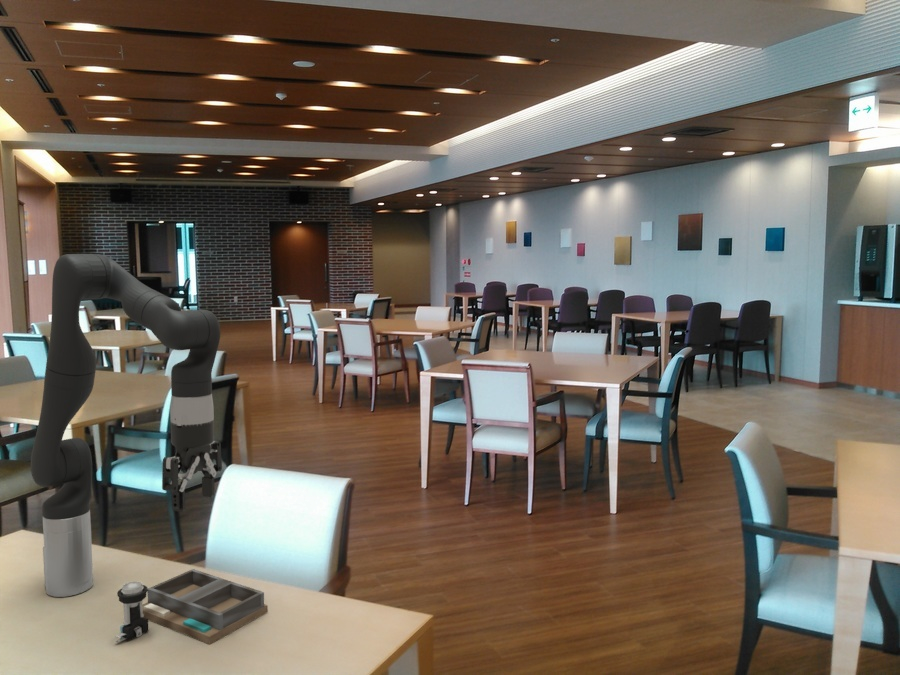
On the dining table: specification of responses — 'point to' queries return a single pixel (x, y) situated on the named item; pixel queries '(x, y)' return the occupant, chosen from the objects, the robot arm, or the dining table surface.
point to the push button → (132, 611)
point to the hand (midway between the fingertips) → (194, 503)
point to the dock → (203, 605)
